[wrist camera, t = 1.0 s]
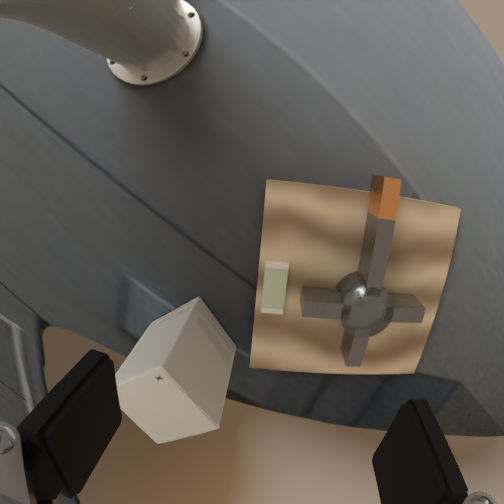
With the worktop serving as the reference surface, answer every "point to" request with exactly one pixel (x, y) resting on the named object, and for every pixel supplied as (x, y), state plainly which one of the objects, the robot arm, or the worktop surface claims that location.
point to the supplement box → (178, 374)
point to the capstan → (366, 282)
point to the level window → (274, 287)
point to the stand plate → (338, 266)
